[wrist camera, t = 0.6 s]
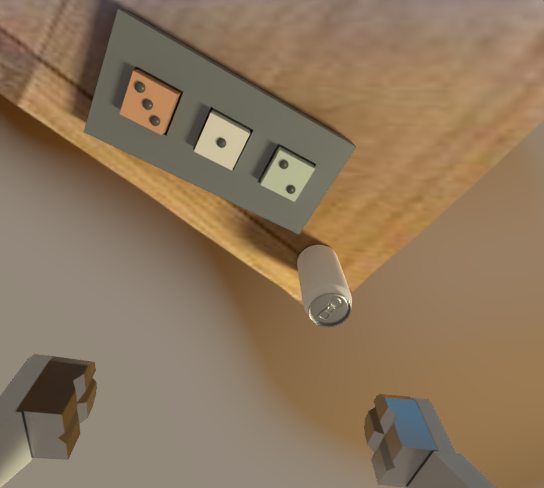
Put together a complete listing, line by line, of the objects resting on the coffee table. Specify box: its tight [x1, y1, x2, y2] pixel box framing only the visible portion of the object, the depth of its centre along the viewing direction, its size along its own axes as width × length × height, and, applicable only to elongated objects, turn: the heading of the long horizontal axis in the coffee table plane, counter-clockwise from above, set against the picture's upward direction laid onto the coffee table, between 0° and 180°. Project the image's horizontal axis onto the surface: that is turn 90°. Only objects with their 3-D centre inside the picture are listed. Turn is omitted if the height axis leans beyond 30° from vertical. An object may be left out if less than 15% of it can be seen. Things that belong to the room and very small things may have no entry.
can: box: [297, 245, 352, 327], centre depth 50 cm, size 6×6×12 cm
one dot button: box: [194, 109, 251, 170], centre depth 43 cm, size 5×5×3 cm
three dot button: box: [120, 69, 183, 135], centre depth 41 cm, size 5×5×3 cm
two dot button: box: [261, 144, 315, 202], centre depth 45 cm, size 5×5×3 cm
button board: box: [84, 9, 356, 234], centre depth 44 cm, size 14×30×3 cm, turn 61°
